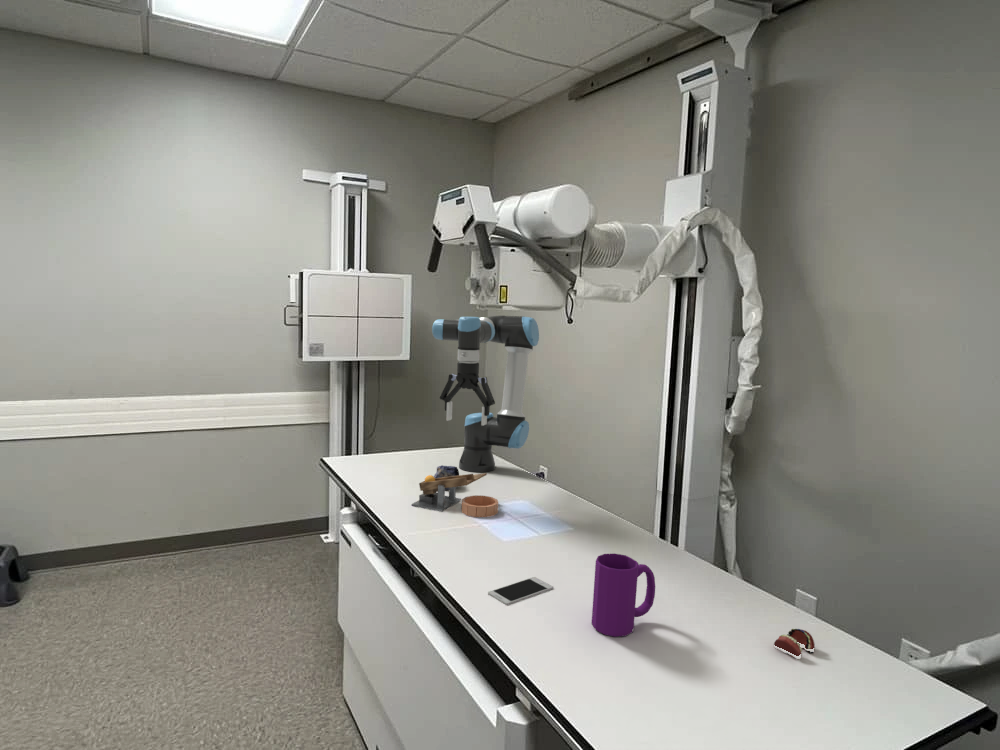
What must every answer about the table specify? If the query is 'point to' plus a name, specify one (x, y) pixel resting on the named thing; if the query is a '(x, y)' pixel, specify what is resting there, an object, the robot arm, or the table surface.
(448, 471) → the rock
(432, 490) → the lever
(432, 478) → the ball
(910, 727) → the table surface
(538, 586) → the smartphone
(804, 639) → the dentures
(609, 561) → the mug
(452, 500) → the pivot base
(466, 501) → the terracotta bowl
